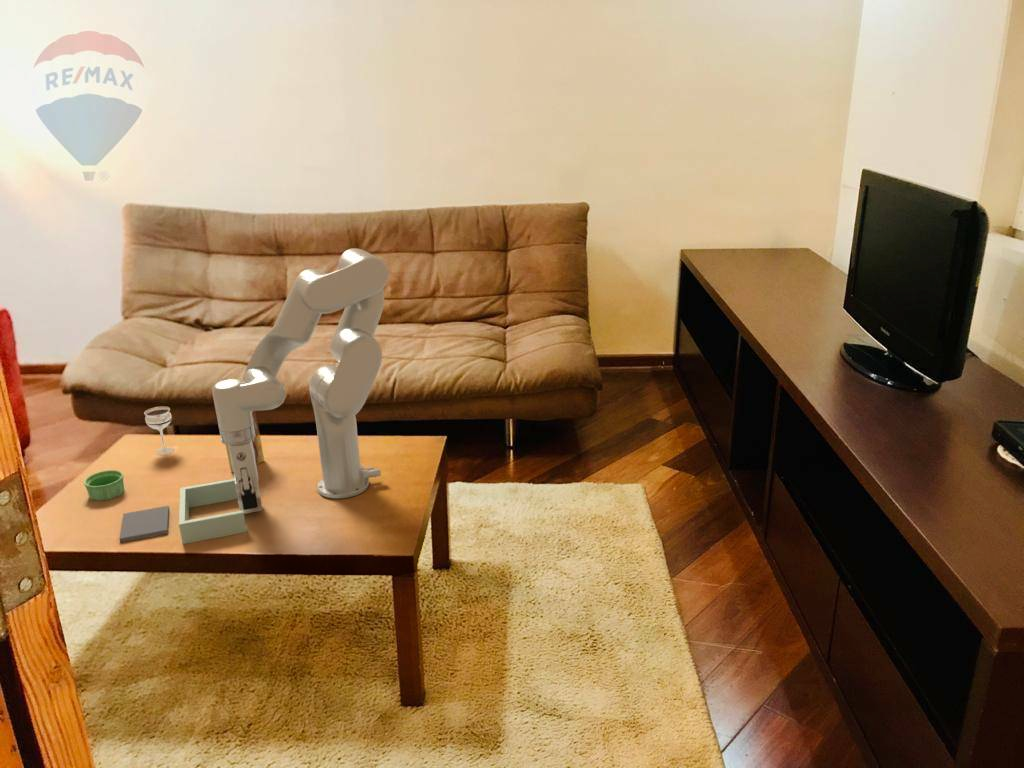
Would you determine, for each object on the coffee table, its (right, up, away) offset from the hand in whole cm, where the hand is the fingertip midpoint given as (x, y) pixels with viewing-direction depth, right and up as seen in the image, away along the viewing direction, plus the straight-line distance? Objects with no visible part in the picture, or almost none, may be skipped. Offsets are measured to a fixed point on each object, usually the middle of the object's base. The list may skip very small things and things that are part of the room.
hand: (250, 501), depth 199 cm
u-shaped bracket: (-8, -4, -2) cm, 9 cm away
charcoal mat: (-23, -5, -4) cm, 24 cm away
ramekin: (-40, 0, +12) cm, 41 cm away
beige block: (0, -1, +1) cm, 2 cm away
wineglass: (-34, +9, +35) cm, 49 cm away
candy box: (-8, +6, +24) cm, 26 cm away
